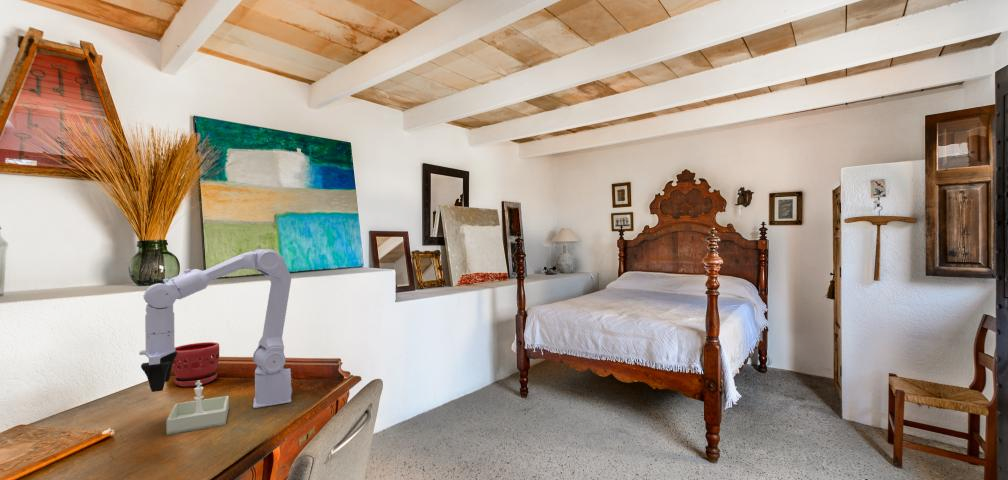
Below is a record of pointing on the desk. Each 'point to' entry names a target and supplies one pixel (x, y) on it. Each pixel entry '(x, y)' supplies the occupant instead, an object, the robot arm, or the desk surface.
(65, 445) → the desk surface
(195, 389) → the chess piece
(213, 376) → the plant pot
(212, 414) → the box
